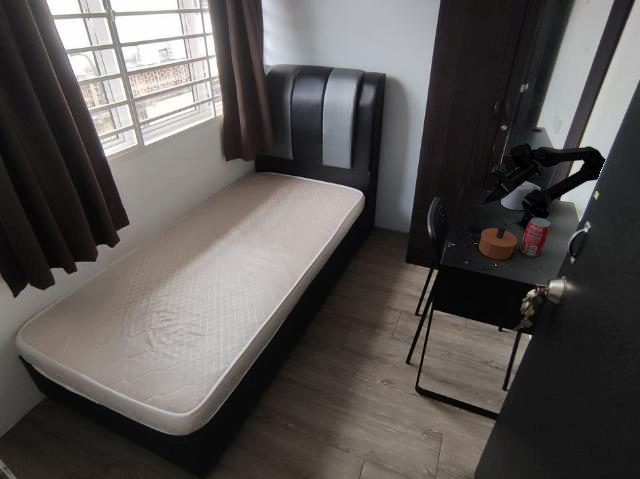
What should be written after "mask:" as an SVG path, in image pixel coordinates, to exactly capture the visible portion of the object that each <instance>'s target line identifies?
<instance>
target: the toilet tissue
mask: <svg viewBox="0 0 640 479" xmlns="http://www.w3.org/2000/svg"><path fill="white" fill-rule="evenodd" d="M535 189H538V190H540V191H541V189H542V188H541V187H540V186H538V185H537V184H534V183H533V182H530V181H528V180H527V181H525V182H524V183H523V184H521V185H520V186H519V187H517V188H516V189H515V190H514V191H513V192H511V193H510V194H509V195H508V196H507V197H505V198H503V199H500V204H501V205H502V206H503V207H504V208H506V209H508V210H512V211H525V210H524V209H523V206H522V201H523V198H524V197H525V196H526V195H527V193H530V192H532V191H533V190H535Z"/></svg>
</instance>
